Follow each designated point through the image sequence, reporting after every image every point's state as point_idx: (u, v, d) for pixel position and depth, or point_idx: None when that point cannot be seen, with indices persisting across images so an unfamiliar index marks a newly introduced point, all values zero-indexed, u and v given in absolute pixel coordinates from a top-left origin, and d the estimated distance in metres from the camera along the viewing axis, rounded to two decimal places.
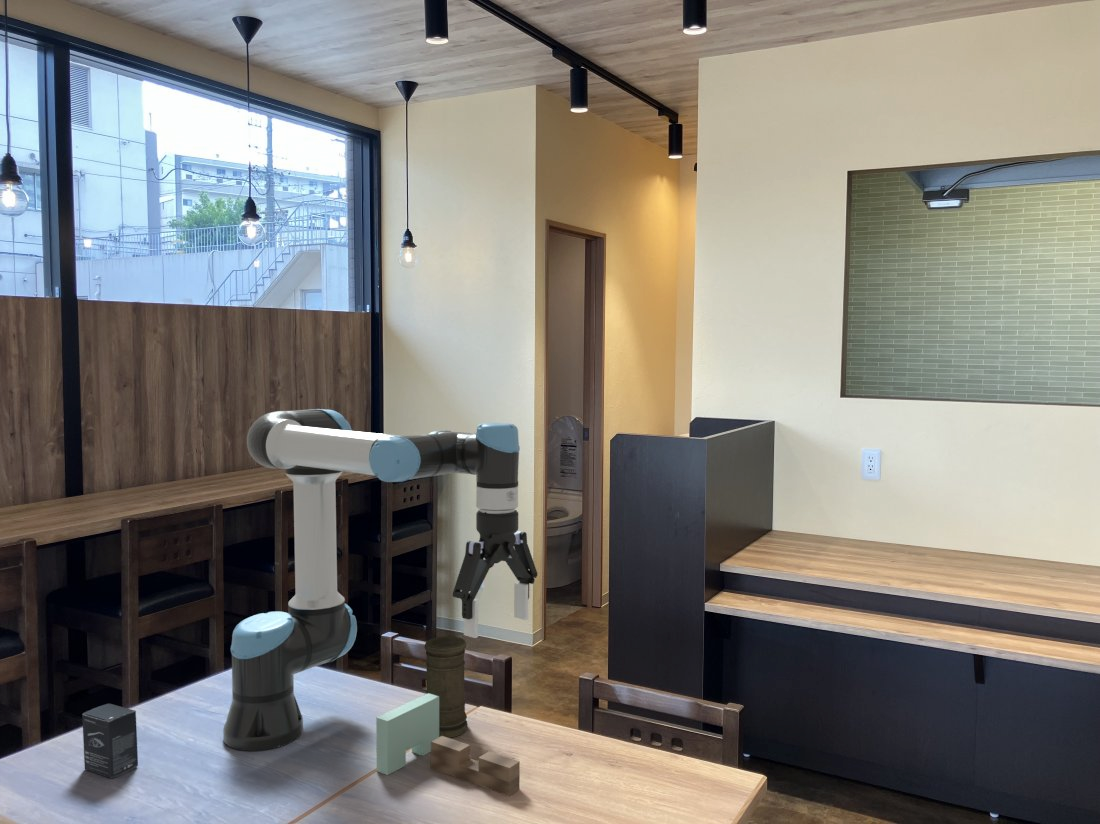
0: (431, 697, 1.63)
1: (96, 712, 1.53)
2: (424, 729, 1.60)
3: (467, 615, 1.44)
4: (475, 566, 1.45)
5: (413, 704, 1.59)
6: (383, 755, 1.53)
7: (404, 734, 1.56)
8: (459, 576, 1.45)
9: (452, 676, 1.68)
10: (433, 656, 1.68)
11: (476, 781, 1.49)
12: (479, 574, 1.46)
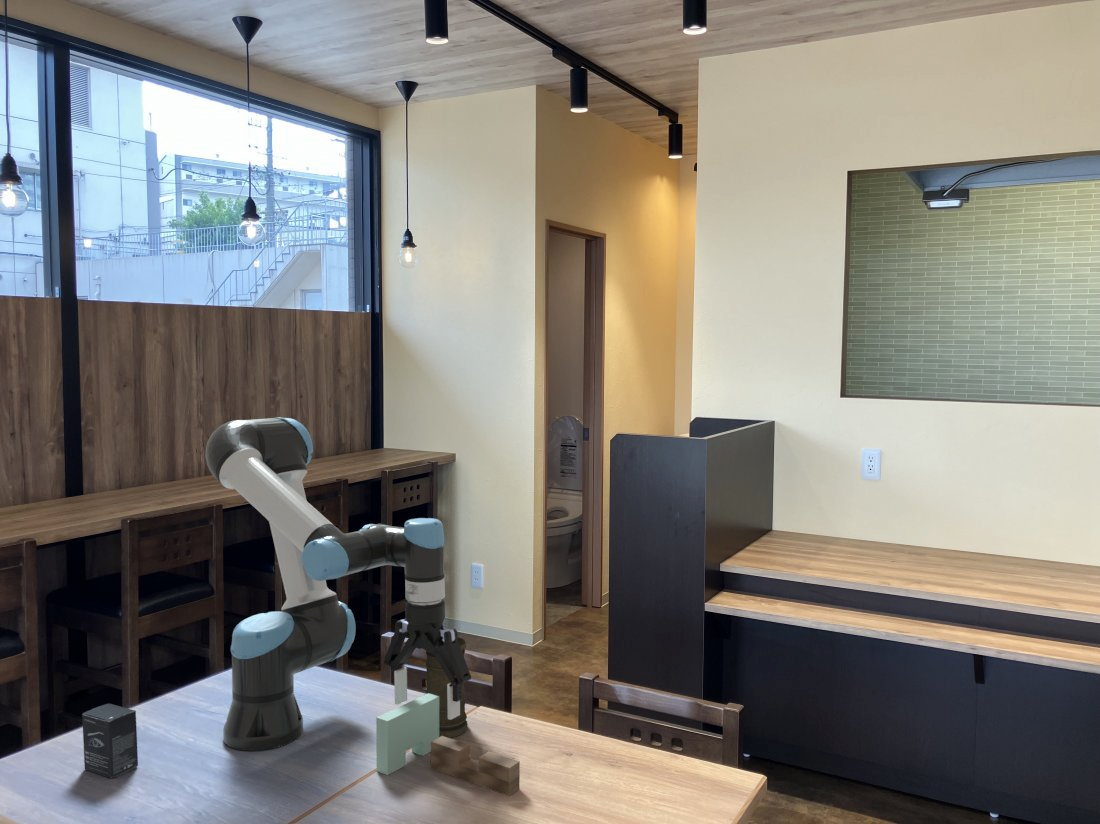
0: (431, 697, 1.63)
1: (97, 712, 1.53)
2: (424, 729, 1.60)
3: None
4: (394, 641, 1.64)
5: (413, 704, 1.59)
6: (383, 755, 1.53)
7: (404, 734, 1.56)
8: None
9: None
10: (433, 656, 1.68)
11: (476, 781, 1.49)
12: None
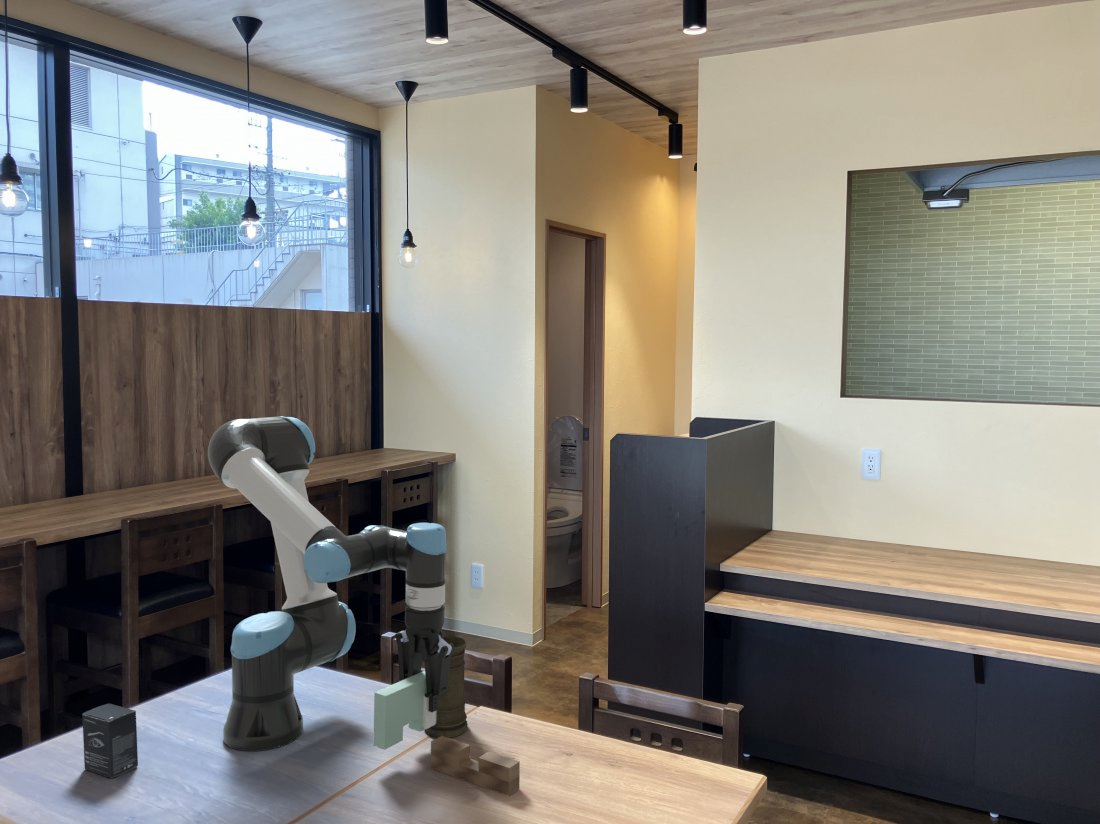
0: None
1: (97, 712, 1.53)
2: (422, 705, 1.60)
3: None
4: (400, 654, 1.64)
5: (412, 680, 1.59)
6: (380, 730, 1.53)
7: (402, 710, 1.56)
8: None
9: (452, 676, 1.68)
10: None
11: (476, 781, 1.49)
12: None
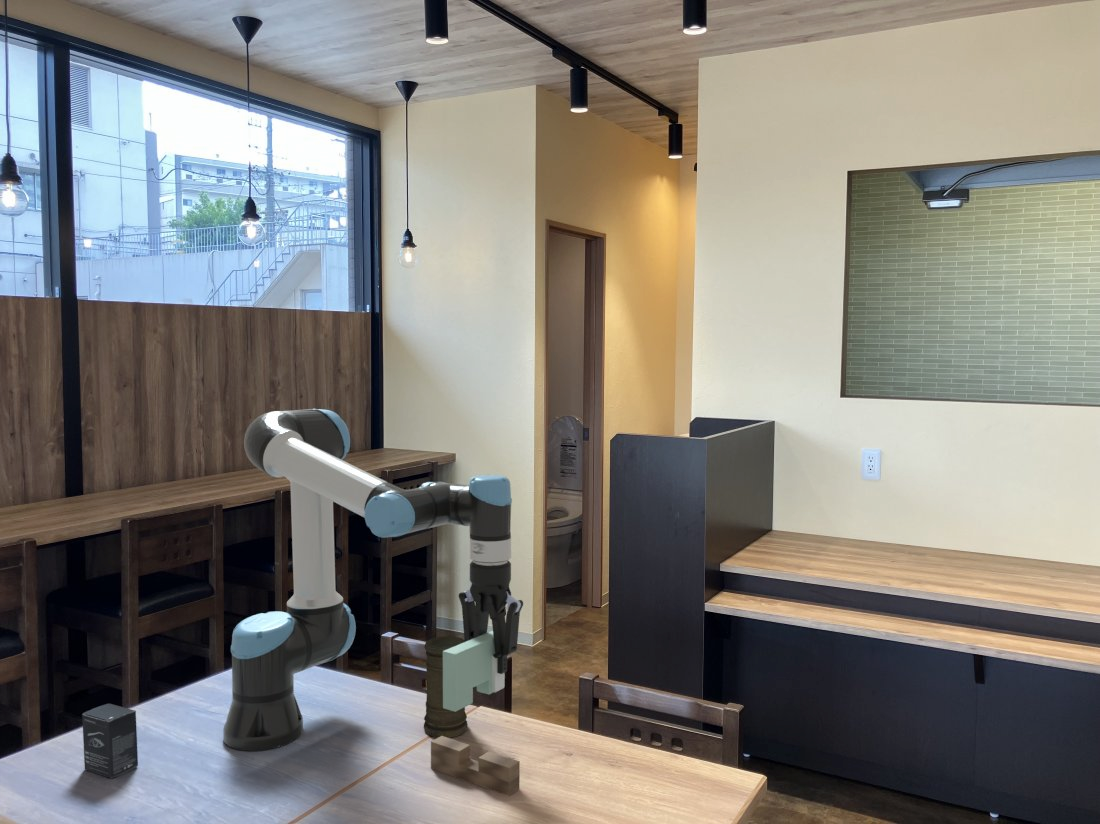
0: None
1: (96, 712, 1.53)
2: (491, 666, 1.52)
3: None
4: (465, 614, 1.55)
5: (479, 640, 1.51)
6: (450, 691, 1.44)
7: (471, 670, 1.47)
8: None
9: None
10: (433, 656, 1.68)
11: (476, 781, 1.49)
12: None
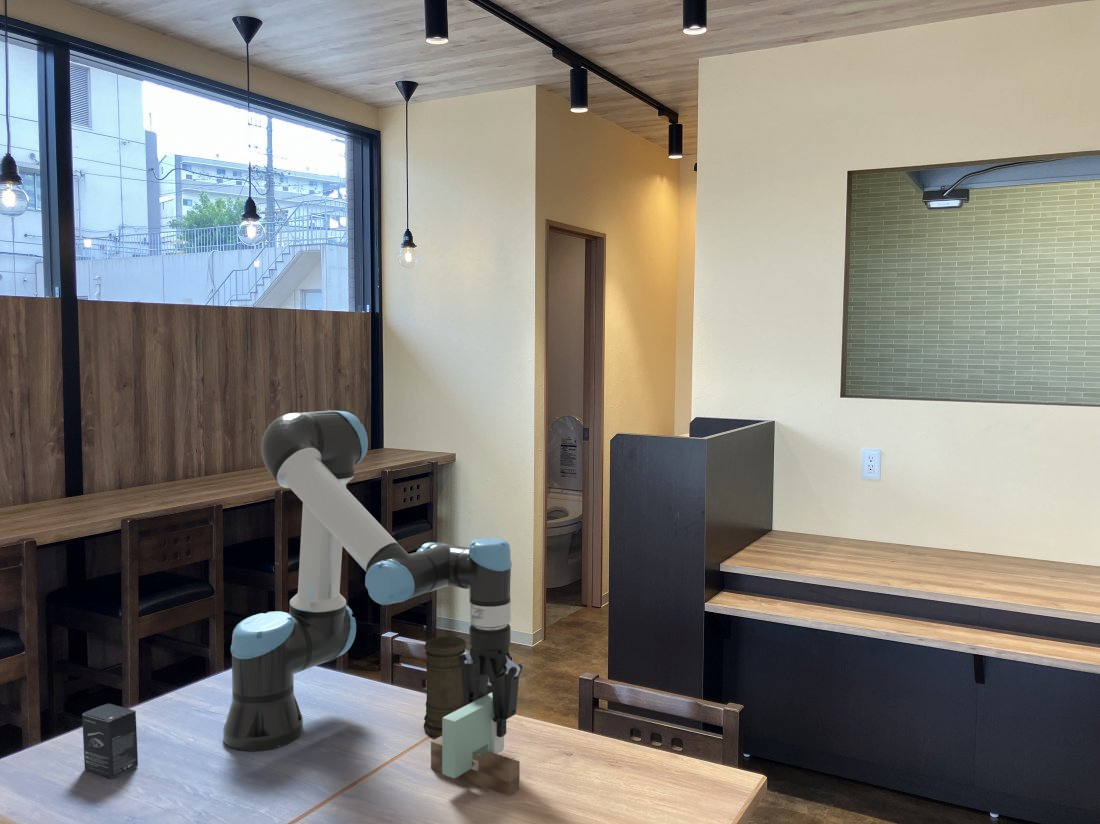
0: None
1: (96, 712, 1.53)
2: (490, 730, 1.53)
3: None
4: (465, 676, 1.56)
5: (479, 704, 1.52)
6: (450, 757, 1.45)
7: (471, 735, 1.48)
8: None
9: (452, 676, 1.68)
10: (433, 656, 1.68)
11: (476, 781, 1.49)
12: None
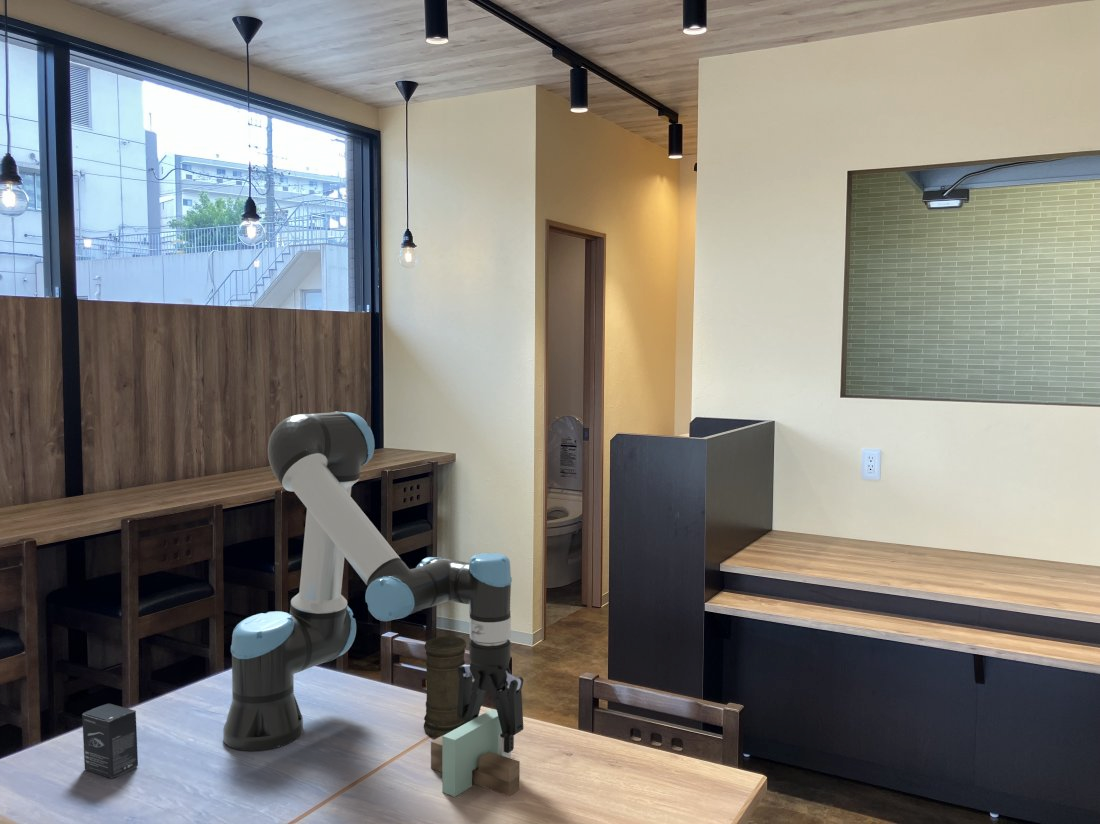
0: (496, 713, 1.55)
1: (96, 712, 1.53)
2: (490, 747, 1.53)
3: None
4: (462, 688, 1.57)
5: (479, 721, 1.52)
6: (450, 776, 1.45)
7: (471, 753, 1.48)
8: None
9: (452, 676, 1.68)
10: (433, 656, 1.68)
11: (476, 781, 1.49)
12: None
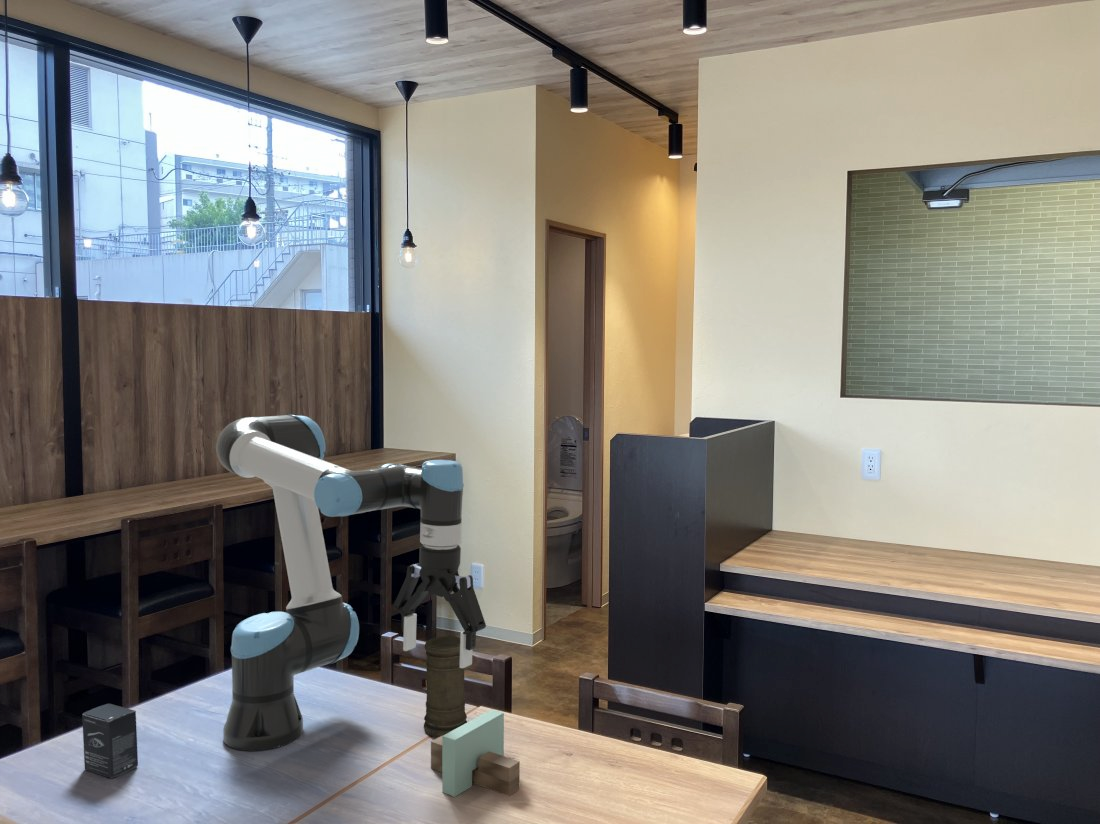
0: (496, 713, 1.55)
1: (96, 712, 1.53)
2: (490, 747, 1.53)
3: None
4: (405, 585, 1.58)
5: (479, 721, 1.52)
6: (450, 776, 1.45)
7: (471, 753, 1.48)
8: None
9: (452, 676, 1.68)
10: (433, 656, 1.68)
11: (476, 781, 1.49)
12: (413, 596, 1.58)
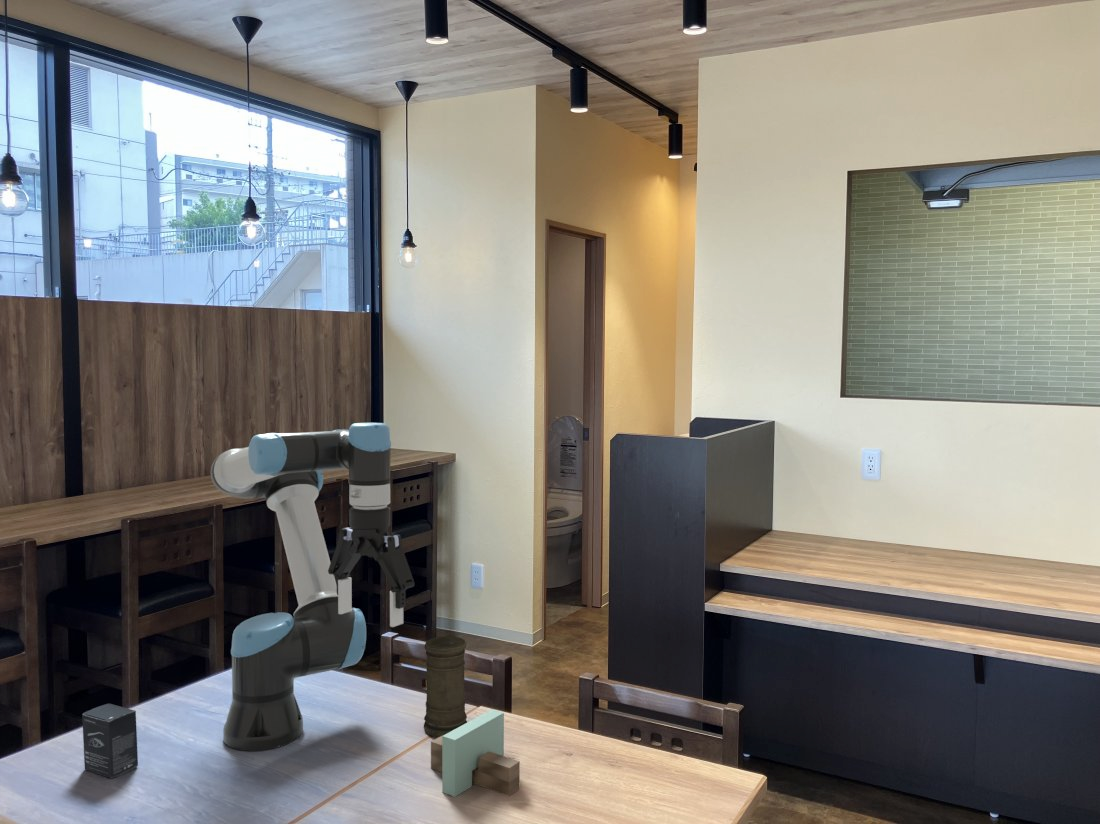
0: (496, 713, 1.55)
1: (96, 712, 1.53)
2: (490, 747, 1.53)
3: (337, 590, 1.62)
4: (339, 549, 1.60)
5: (479, 721, 1.52)
6: (450, 776, 1.45)
7: (471, 753, 1.48)
8: None
9: (452, 676, 1.68)
10: (433, 656, 1.68)
11: (476, 781, 1.49)
12: None
